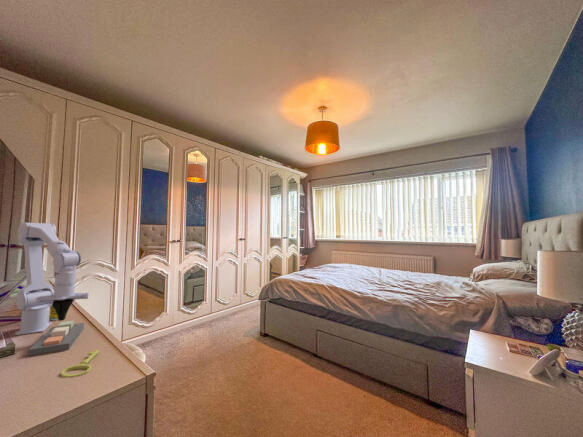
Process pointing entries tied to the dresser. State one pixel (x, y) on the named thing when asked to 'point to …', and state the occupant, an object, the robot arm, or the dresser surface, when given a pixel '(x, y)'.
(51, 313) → the supplement bottle
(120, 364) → the dresser surface
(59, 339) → the terracotta key
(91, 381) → the dresser surface
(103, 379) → the dresser surface
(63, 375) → the key
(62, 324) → the sage key
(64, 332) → the cream key
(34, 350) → the grey flat frame
